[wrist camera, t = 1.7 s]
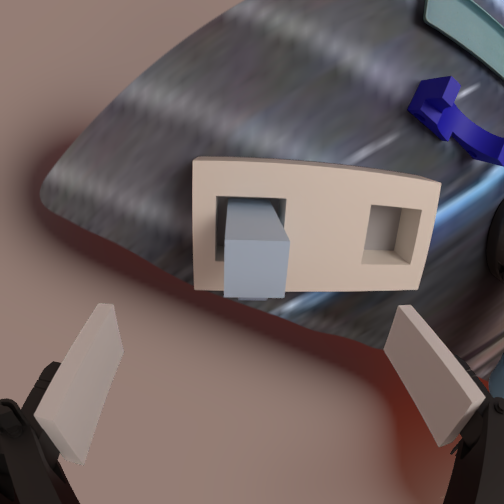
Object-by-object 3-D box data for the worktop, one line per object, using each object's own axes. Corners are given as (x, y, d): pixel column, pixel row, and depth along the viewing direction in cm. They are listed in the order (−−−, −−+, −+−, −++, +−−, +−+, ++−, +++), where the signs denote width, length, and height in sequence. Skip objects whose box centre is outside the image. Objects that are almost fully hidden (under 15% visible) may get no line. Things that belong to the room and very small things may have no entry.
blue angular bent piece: (406, 110, 28) (436, 109, 22) (420, 80, 27) (451, 75, 21) (468, 167, 31) (499, 177, 25) (480, 140, 29) (511, 146, 24)
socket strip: (416, 174, 31) (441, 183, 26) (398, 270, 35) (417, 289, 30) (199, 156, 29) (192, 160, 24) (199, 267, 33) (194, 289, 29)
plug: (269, 199, 30) (290, 241, 19) (266, 245, 32) (282, 308, 21) (228, 197, 30) (224, 239, 19) (227, 243, 31) (223, 307, 20)
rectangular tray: (536, 70, 24) (546, 70, 22) (533, 116, 28) (544, 117, 25) (419, -25, 21) (429, -31, 18) (414, 24, 24) (425, 19, 22)
